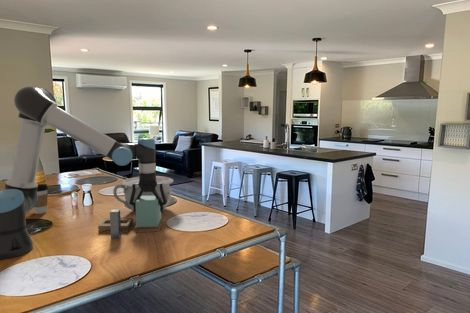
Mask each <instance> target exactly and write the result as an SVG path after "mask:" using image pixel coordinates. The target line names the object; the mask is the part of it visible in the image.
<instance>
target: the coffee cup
mask: <svg viewBox="0 0 470 313" xmlns="http://www.w3.org/2000/svg"><path fill="white" fill-rule="evenodd" d="M37 184H38V183H37ZM48 190H49V187H48V184H47V183H46V184H45V183H42V184H41V183H40V184H38V188H37V194H38V200H37V203H36V205H35V206H34V208H33V212H34V214H36V215H40V214H41V215H42V214H45V213H47V212H48V199H49V198H48V195H49V194H48Z"/></svg>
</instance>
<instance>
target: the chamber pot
mask: <svg viewBox="0 0 470 313" xmlns="http://www.w3.org/2000/svg"><path fill="white" fill-rule="evenodd" d="M156 182H157V183H163V189H164V193H165V196H166V199H167V203H166V204H164V205H163V211H164V210H165V209H166V208H167V207H168V204H170V201H171V198H172V197H171V196H172V188H171V186H170V185H171V184H172V183H174V179H173V178H171V177H169V176H164V175H163V176H161V175H156ZM134 183H139V176H134V177H129V178H127V179H124V180H122V181H121V184H120V183H117V184H116V185H115V186H114V188H113V190H112V194H113V197H114V198H115V199H116V200H117V201H118V202H120V203H121V204H124V205H125V206H126V207H127V208H128V209H130V210H131V211H132V212H133V213H134V214H136V212H134V206H133V205H130V204H129V202H130V198H131V194H132V190H133V187H132V185H133V184H134ZM118 189H123V194H124V199H122V198H120V197H119V195H118V194H117V193H118V192H117V190H118ZM155 189H156V191H157V193H158V195H159V196H160V198H161V200H162V201H163V199H162V195H161V192H160V188H159V187H158V186H156V187H155ZM140 191H141V188H140V187H139V186H138V187H137V188H136V192H135V196H134V200H133V202H135V200H136V198H137V197H138V195H139V193H140ZM141 196H154V194H153V193H152V192H143V193H142V195H141Z"/></svg>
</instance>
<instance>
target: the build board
mask: <svg viewBox="0 0 470 313" xmlns="http://www.w3.org/2000/svg"><path fill="white" fill-rule="evenodd" d="M120 220H121V233H124V232H125V233H129V231H130V229H132V227H133V225H134V217H120ZM97 228H98V230H97V231H98V233H111V228H110V217H109V218H108V217H105V218H104V219H103V220H102V221H101V223H100V224H99V225H98V226H97Z"/></svg>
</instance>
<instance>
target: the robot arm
mask: <svg viewBox="0 0 470 313" xmlns="http://www.w3.org/2000/svg"><path fill="white" fill-rule="evenodd" d="M13 102H14V107H15V108H16V109H17V111H18V117H17V118H18V119H19V121H20V122H21V125H20V130H19V135H18V140H17V146H16V149H15V155H14V162H13V165H12V166H13V167H12V171H11V177H10V178H9V179H8V180H6V181H5V184H4V189H1V190H0V260H5V259H12V258H16V257H19V256H20V257H21V256H22V255H24V254H27V253H29V252H30V251H32V250H33V248H34V242H33V240H32V238H31V235H30V234H29V232H28V230H27V220H26V215H27V214H28V213H29V212H31V210H34V206H35V205H36V203H37V200H38V194H37V188H38V183H37V182H36V176H37V172H38V166H39V161H40V155H41V151H42V146H43V140H44V136H45V131H46V127H47V126H50V127H52V128H55V129H56V130H58V131H60V132H61V133H63V134H65V135H67V136H69V137H71V138H72V139H74V140H76V141H77V142H80V143H82V144H83V145H85V146H87V147H88V148H91V149H92V150H94V151H96V152H98V153H100V154H102V155H103V156H105V157H107V158H108V159H109V160H111V161H113V163H115V164H116V165H118V166H121V167H122V166H127V165H128V164H129V163H130V162H131V161H132V160H138V172H139V173H138V177H139V183H134V184H133V185H132V187H133V190H132V194H131V198H130V202H129V204H130V205H133V206H134V212H136V203H135V202H133V200H134V196H135V192H136V188H137V187H138V186H139V187H140V188H141V191H140V193H139V195H138V197H137V198H136V200H137V199H140V197H141V195H142V193H143V192H152V193H153V194H154V196H155V197H156V199H158V202H159V206H158V207H159V219H162V213H163V212H164V210H163V205H164V204H166V203H167V199H166V196H165V193H164V189H163V183H157V182H156V176H157V174H156V173H157V172H156V171H157V170H156V169H157V165H156V144H155V143H156V141H155V139H154V138H152V137H151V138H150V137H142V138H138V139H137V142H128V143H127V142H124V143H123V142H118V141H117V140H116V139H114V138H112V137H110V136H108V135H107V134H106V133H104V132H102V131H100V130H98V129H96V128H95V127H93V126H91V125H89V124H88V123H87V122H85V121H83V120H81V119H80V118H78V117H76V116H75V115H72V114H71V113H69V112H67V111H65V110H64V109H62V108H60V107H58V103H57V100H56V97H55V96H54V95H53V93H52V92H50V91H49V90H47V89H44V88H40V87H36V86H25V87H23V88H20V89H19V90H18V91H17V92H16V94H15V95H14V99H13ZM156 186H158V187H159V188H160V192H161V195H162V199H163V201H162V200H161V198H160V196H159V195H158V193H157V191H156V189H155V187H156ZM136 200H135V201H136ZM134 212H133V213H134Z"/></svg>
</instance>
